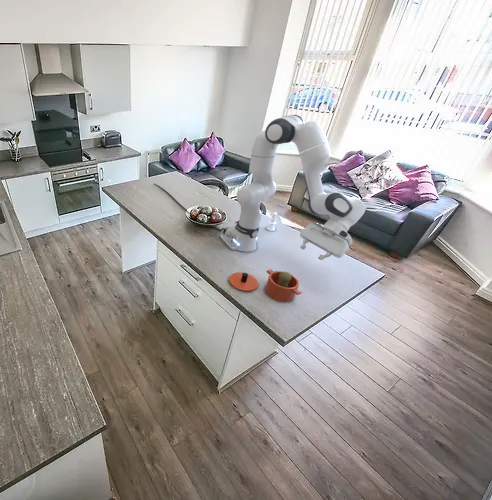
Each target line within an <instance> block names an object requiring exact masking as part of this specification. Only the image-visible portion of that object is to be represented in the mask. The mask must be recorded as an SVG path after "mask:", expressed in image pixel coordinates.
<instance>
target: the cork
mask: <svg viewBox="0 0 492 500" xmlns="http://www.w3.org/2000/svg"><path fill="white" fill-rule="evenodd" d="M291 275H292V273H290V272H288V271H283V272H281V273H280V274H279V280H278V281H277V283H276V284H277V285H280V286H282V287H286V288H288V283H289V281H290V280H291V278H292V276H291Z"/></svg>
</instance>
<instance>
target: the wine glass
mask: <svg viewBox="0 0 492 500" xmlns="http://www.w3.org/2000/svg"><path fill="white" fill-rule="evenodd" d="M277 217H278V213H277V212H276V211H274V212H273V213H272V215H271V219H270V220H268V223H269V225H267V226H266V227H265V228H266V230H268V231H271V232H274V231H275V230H276V228H275V225H277V222H276V220H277Z"/></svg>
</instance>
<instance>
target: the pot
mask: <svg viewBox="0 0 492 500" xmlns="http://www.w3.org/2000/svg"><path fill="white" fill-rule="evenodd" d="M281 272H284V271H282V270H274V271H273V270H272V269H271V268H270V269H267V270H266V273H267V274H268V279H267V281H266V285H265V287H264V289H265V294H266V295H267V296H268V297H269V298H271V299H272V300H275V301H276V302H281V303H288V302H291V301H292V300H294V298H295V296H299V295H302V293H303V291H301V290H300V289H298V288H299V286H300V281H299V280H298V278H297V277H296V276H294V275H293V274H291V276H292V278H291V280H290V281H289V283H288V288H286V287H282V286H280V285H277V284H276V283H277V281H278V280H279V274H280V273H281Z"/></svg>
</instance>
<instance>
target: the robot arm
mask: <svg viewBox="0 0 492 500" xmlns="http://www.w3.org/2000/svg"><path fill="white" fill-rule="evenodd" d="M291 142H292V143H294V144H295V146H296V148H297V152H298V154H299V157H300V160H301V165H302V172H303V178H304V182H305V187H306V190H307V195H308V201H307V207H308V211H309V212H310V213H311V214H312V215H315V216H317V217H318V216H329V218H328V220H327V221H325V223H324V224H320V223H319V222H316V221H313V222H312V221H311V222H309V224H308V225H307V226H306V227H304V228H303V229H302V230H301V231H300V232H299V236H300V237H301V239H303V240H302V244H301V245H300V249H302V250H304V251H305V249H306V248H307V245H306V244H308V243H310V244H312V245H314V246H316V247H317V248H319V249H321V250H323V251H324V252H325V254H323V255H322V254H319V256H318V257H317V258H318V260H320V261H324V259H326V258H330V257H331V256H332V257H335V258H338V259H340V258H343V256H345V255H346V253H347V252H348V250H349V248H350V246H351V245H353V238H352V236H351V235H350V234H349V233H348V231H350V228H351V227H353V226H354V225H356V223H357V222H358V221H359V220H360V219H361V218H362V217H363V215H364V214H365V213H366V210H367V206H366V203H365V202H364V201H363V200H361V199H360V198H358V197H350V196H346V195H344V194H343V193H341V192H328V193H326V191H325V190H324V187H323V181H322V177H321V173H322V170H323V168H324V167H325V165H327V164H328V162H329V160H330V158H331V149H330V145H329V142H328V139H327V137H326V134H325V132H324V130H323V128H322V126H321V125H320V124H319V122H317V121H316V120H315V121H314V120H310V121H306V122H305V120H304V118H303V117H301V116H300V115H297V114H290V115H288V114H287V115H284V116H281V117H278V118H275V119H273V120H272V121H270V122H269V124H267V126H266V128H265V130H262V131H260V132H258V133H257V134H256V136H255V139H254V142H253V145H252V148H251V155H250V160H249V161H250V162H249V168H248V169H249V172H250V174H251V175H252V182H251V183H248V184H245V185H244V186H242V187H241V188H240V189H238V190H237V192H236V201H237V203H238V204H239V205H240V215H239V219H238V220H237V221H235V222H234V224H235V225H233V226H227V227H222V228H217V227H216V226H214V225H213V226H211V228H213V229H215V230H217V231H219V232H222V233H221V234H220V236H219V238H220V239H221V240H222V241H223V242H224V243H225V245H227V247H229V249H230V250H232V251H239V252H243V253H250V252H254V251H255V250H257V240H258V234H259V231H260V223H261V220H262V217H263V211H262V210H261V209H260V207H261V206H260V205H261V203H262V202H264V201H266V200H269V199H270V198H271V197H273V196H274V195H275V193H276V192H277V184H276V182H275V181H274V177H273V172H274V171H273V170H274V165H275V159H276V153H277V149H278V147H279V145H282V144H289V143H291ZM153 185H154V186H157V187H158V188H160V189H161V190H162V191H164V192H165V193H166V194H167V195H168V196H169V197H171V199H172V200H174V202H175V203H176V204H178V205H179V207H181V208H182V209H183V210H184V211H185V212H187V210H188V209H186V208H185V207H184V206H183V205H182V204H181V203H180V202H179V201H178V200H177V199H176V198H175V197H173V195H171V193H169V192H168V191H167V190H165V189H164V187H162V186H160V185H158V184H156V183H155V182H154V183H153Z"/></svg>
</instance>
